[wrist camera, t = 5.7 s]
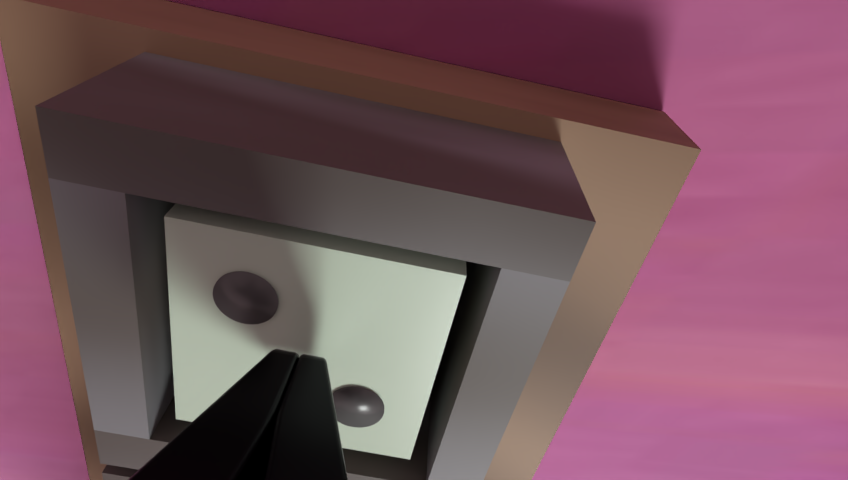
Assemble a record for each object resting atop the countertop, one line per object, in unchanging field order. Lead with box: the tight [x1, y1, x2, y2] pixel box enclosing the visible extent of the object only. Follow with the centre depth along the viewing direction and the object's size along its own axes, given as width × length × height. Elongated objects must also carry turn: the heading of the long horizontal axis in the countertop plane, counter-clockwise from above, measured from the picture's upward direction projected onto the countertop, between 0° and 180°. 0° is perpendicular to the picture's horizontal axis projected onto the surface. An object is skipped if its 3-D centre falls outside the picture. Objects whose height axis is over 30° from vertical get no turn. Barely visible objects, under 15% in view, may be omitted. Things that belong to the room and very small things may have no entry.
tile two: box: [164, 203, 467, 459], centre depth 10 cm, size 4×4×2 cm
